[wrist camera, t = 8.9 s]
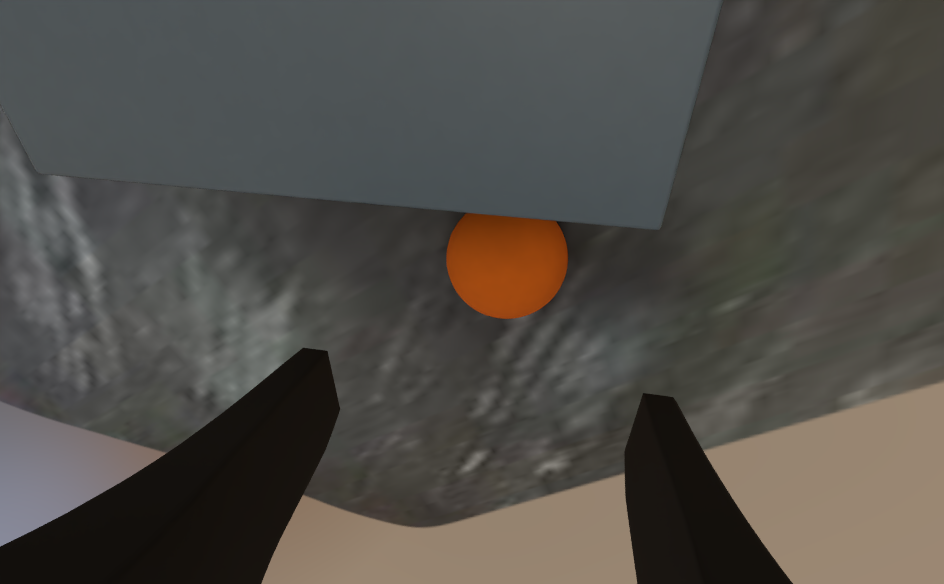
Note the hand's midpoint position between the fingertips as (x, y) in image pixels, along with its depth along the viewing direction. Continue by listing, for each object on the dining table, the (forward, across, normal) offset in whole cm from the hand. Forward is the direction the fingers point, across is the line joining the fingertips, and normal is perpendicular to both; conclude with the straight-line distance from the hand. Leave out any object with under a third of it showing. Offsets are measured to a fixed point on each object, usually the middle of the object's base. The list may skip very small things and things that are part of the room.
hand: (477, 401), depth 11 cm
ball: (+6, 0, 0) cm, 6 cm away
